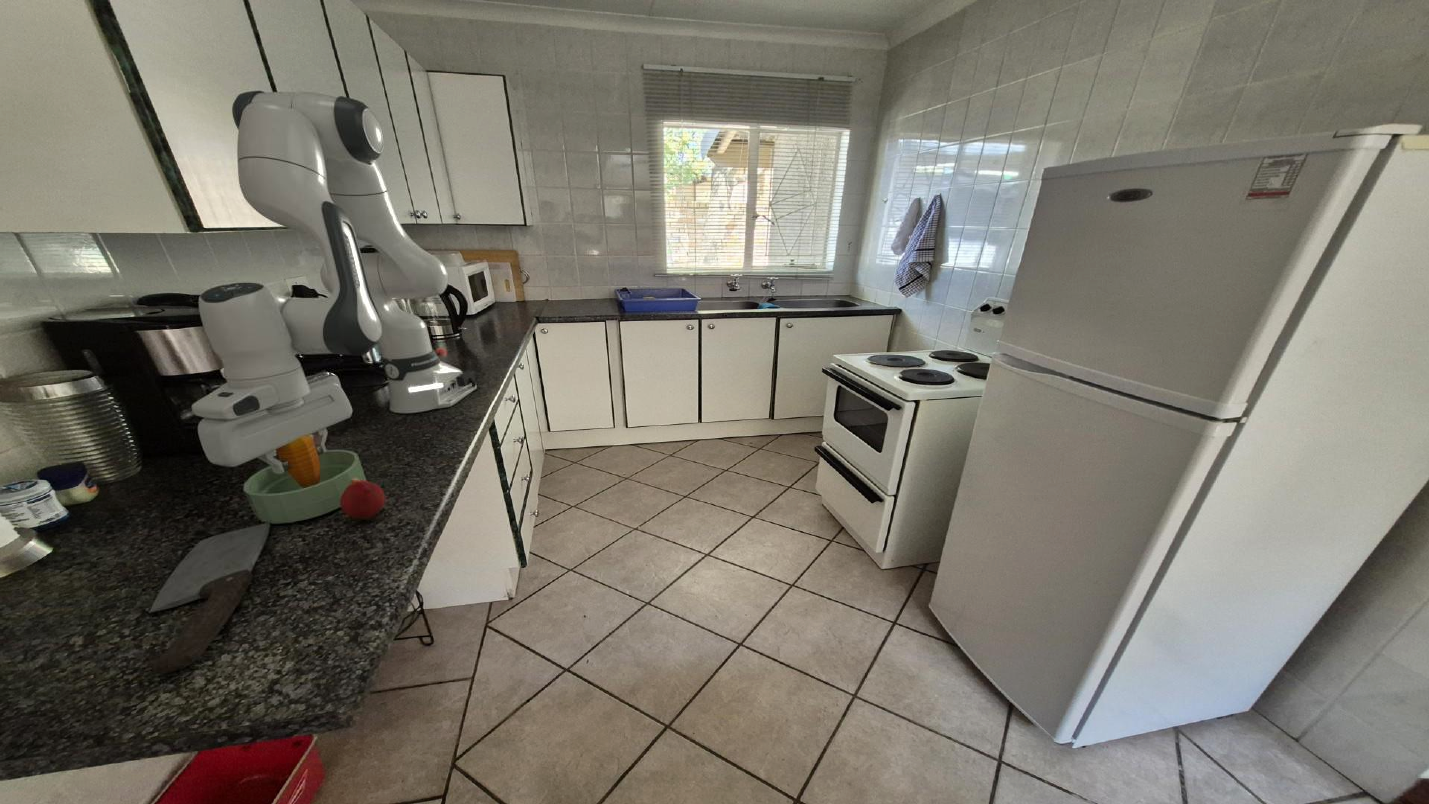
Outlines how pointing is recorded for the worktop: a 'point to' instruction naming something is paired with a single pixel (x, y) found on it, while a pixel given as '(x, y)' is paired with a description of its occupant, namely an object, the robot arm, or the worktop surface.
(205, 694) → the worktop surface
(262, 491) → the bowl
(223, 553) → the cleaver
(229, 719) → the worktop surface
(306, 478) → the carrot
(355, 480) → the onion
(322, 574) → the worktop surface
